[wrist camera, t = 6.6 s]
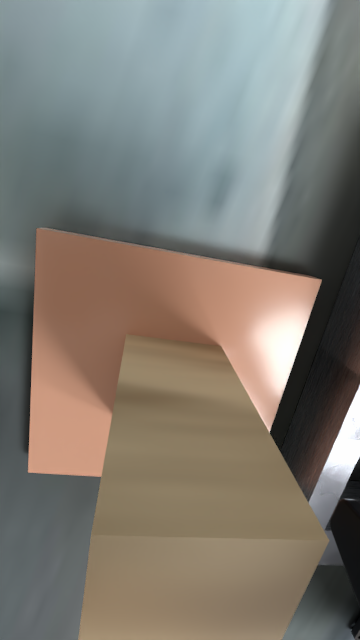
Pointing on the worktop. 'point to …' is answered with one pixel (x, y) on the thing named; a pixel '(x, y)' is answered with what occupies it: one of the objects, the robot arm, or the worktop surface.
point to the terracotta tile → (145, 332)
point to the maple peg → (194, 508)
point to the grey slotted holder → (330, 414)
